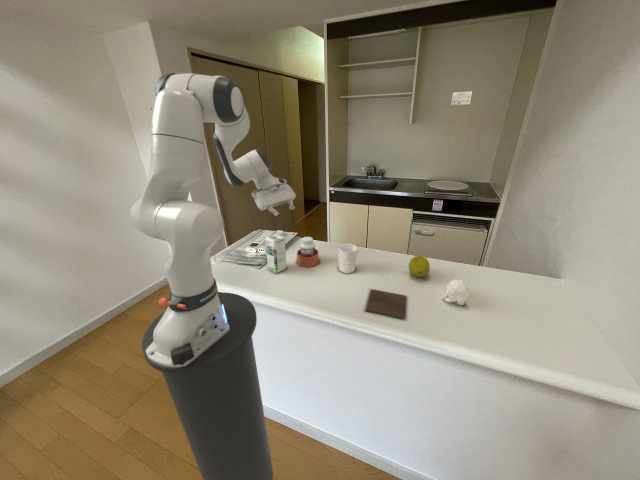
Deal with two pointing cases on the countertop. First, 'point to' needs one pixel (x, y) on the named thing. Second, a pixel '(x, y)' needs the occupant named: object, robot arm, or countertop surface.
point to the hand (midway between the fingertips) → (285, 212)
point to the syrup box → (276, 253)
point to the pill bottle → (307, 247)
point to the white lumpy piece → (457, 291)
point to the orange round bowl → (307, 259)
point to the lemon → (419, 266)
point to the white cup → (347, 257)
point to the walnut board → (386, 304)
